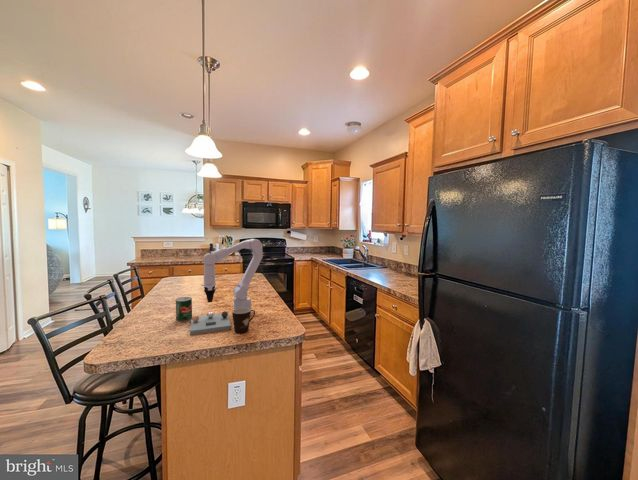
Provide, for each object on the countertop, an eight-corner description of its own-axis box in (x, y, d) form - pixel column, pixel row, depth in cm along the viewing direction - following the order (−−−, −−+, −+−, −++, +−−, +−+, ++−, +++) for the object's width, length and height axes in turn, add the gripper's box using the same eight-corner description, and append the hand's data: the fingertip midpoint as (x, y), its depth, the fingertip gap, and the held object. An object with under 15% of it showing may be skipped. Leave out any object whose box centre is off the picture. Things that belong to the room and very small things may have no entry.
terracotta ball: (199, 320, 137) (199, 314, 137) (199, 322, 134) (198, 316, 134) (192, 321, 136) (192, 314, 136) (192, 323, 133) (191, 316, 133)
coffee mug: (234, 336, 123) (233, 314, 122) (230, 329, 131) (230, 309, 130) (259, 331, 128) (258, 311, 128) (254, 325, 136) (254, 306, 135)
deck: (227, 316, 149) (227, 312, 149) (231, 329, 131) (231, 325, 131) (192, 320, 142) (191, 317, 142) (190, 335, 124) (190, 331, 124)
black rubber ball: (227, 316, 144) (227, 310, 144) (228, 318, 141) (228, 312, 141) (221, 316, 143) (221, 310, 142) (221, 318, 140) (221, 312, 139)
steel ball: (213, 316, 143) (213, 310, 143) (213, 318, 140) (213, 312, 140) (207, 317, 142) (207, 311, 141) (207, 319, 139) (207, 313, 139)
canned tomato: (185, 322, 140) (185, 301, 140) (172, 320, 142) (172, 300, 141) (195, 317, 148) (195, 297, 147) (182, 315, 150) (182, 296, 149)
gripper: (201, 274, 149) (202, 298, 150) (201, 278, 136) (201, 305, 137) (215, 273, 152) (215, 296, 153) (216, 277, 139) (216, 303, 140)
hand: (210, 300), depth 145 cm, fingers open, 5 cm apart
